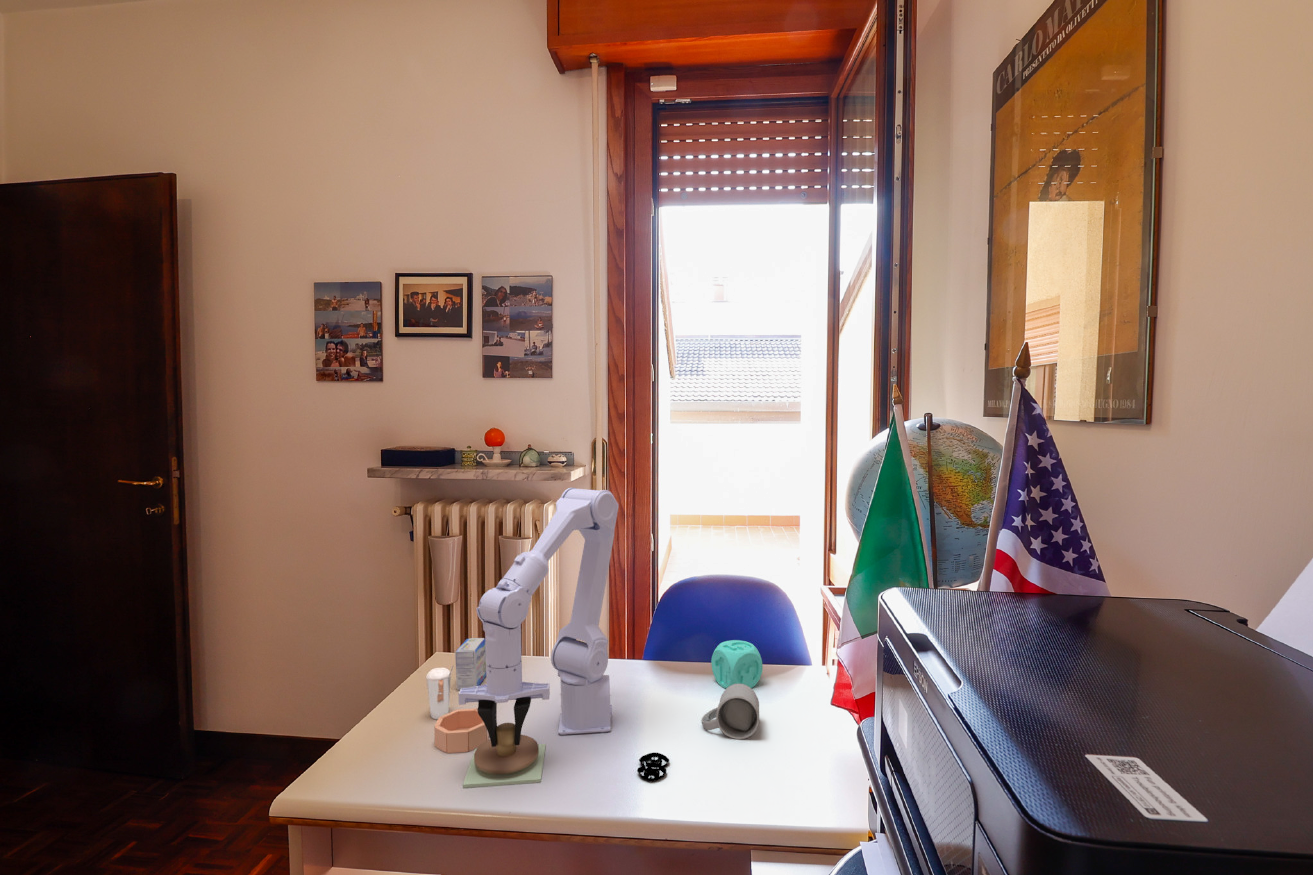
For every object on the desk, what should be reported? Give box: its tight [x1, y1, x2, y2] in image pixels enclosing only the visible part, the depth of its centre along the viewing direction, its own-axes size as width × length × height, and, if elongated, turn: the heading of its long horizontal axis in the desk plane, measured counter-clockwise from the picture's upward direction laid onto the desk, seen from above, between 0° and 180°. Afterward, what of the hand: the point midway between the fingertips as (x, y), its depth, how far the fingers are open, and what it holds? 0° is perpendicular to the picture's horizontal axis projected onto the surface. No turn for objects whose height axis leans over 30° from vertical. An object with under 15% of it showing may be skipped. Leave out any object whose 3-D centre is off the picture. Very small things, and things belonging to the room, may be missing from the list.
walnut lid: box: [473, 722, 539, 774], centre depth 106 cm, size 10×10×5 cm
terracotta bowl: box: [433, 707, 490, 754], centre depth 115 cm, size 9×9×4 cm
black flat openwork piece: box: [636, 752, 670, 783], centre depth 105 cm, size 5×8×1 cm, turn 174°
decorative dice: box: [710, 639, 764, 690], centre depth 138 cm, size 8×8×8 cm
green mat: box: [462, 743, 547, 789], centre depth 106 cm, size 12×11×1 cm
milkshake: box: [425, 665, 454, 720], centre depth 125 cm, size 4×5×10 cm
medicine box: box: [454, 637, 486, 691], centre depth 140 cm, size 8×4×9 cm, turn 179°
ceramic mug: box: [701, 684, 760, 740], centre depth 118 cm, size 11×8×8 cm
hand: (506, 742), depth 106 cm, fingers closed on walnut lid, 3 cm apart
